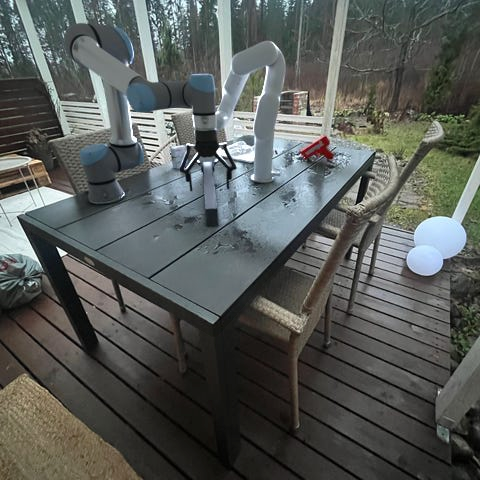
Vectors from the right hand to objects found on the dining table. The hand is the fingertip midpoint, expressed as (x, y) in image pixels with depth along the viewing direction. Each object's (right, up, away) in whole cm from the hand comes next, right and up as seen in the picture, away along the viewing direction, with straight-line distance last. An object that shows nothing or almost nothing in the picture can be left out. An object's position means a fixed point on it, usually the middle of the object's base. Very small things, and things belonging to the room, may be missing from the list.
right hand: (208, 172), depth 149 cm
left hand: (+6, -18, -48) cm, 52 cm away
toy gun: (+67, +15, +27) cm, 74 cm away
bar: (+3, -15, -20) cm, 25 cm away
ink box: (-19, +8, +16) cm, 26 cm away
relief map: (+19, +23, +39) cm, 49 cm away
